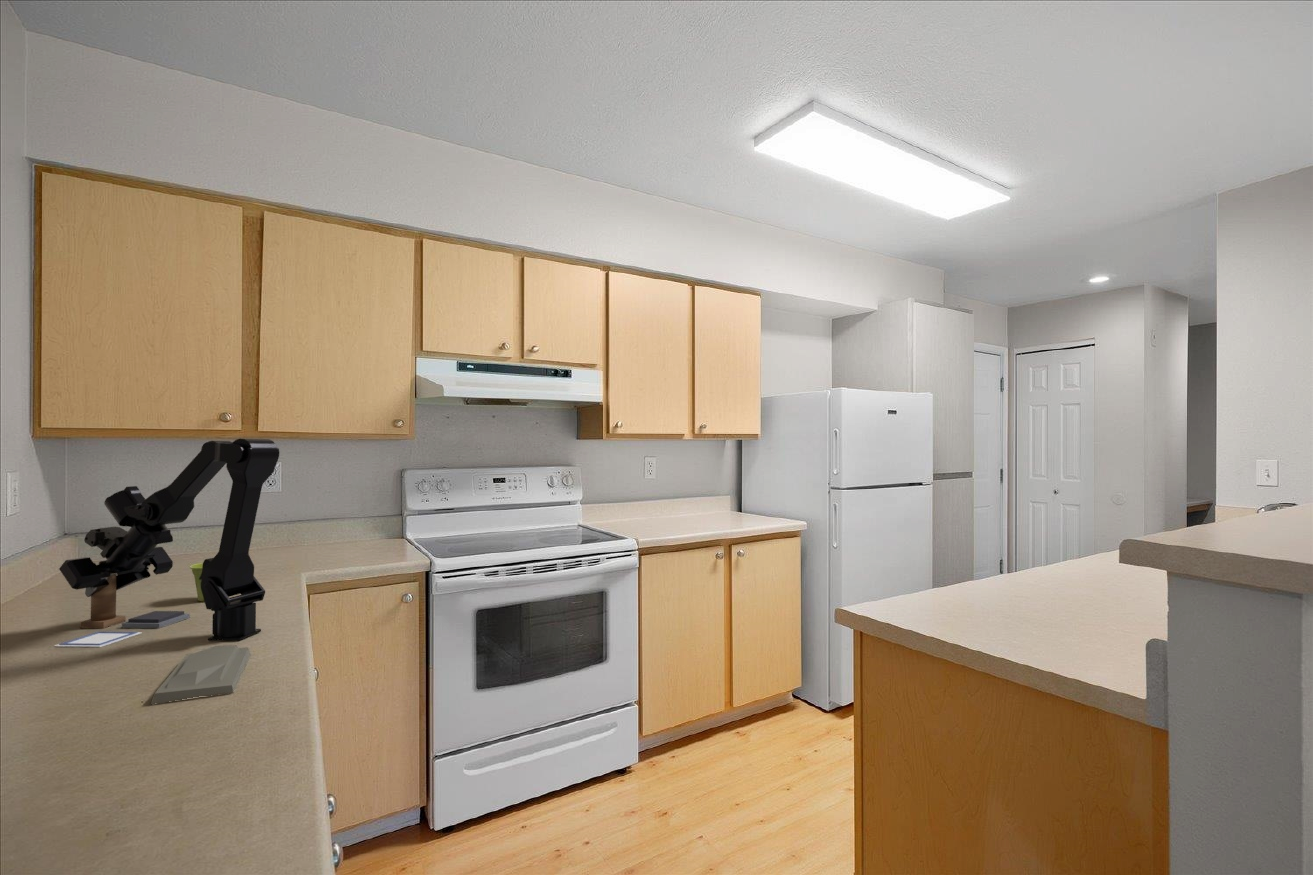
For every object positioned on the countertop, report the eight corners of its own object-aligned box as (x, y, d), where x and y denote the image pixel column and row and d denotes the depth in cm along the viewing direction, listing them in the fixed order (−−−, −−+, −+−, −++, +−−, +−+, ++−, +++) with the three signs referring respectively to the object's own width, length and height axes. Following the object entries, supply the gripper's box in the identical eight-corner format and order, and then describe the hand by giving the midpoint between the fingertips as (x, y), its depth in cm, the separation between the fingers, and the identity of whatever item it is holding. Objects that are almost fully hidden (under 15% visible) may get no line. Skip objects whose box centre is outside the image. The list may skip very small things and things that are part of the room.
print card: (141, 633, 125) (141, 631, 125) (99, 647, 116) (99, 645, 116) (99, 632, 125) (99, 630, 125) (53, 646, 116) (53, 644, 116)
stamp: (125, 621, 133) (126, 564, 133) (103, 628, 128) (104, 568, 128) (102, 621, 133) (103, 564, 134) (80, 628, 128) (81, 568, 129)
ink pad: (189, 617, 136) (189, 610, 136) (159, 628, 128) (159, 620, 128) (154, 617, 137) (154, 610, 137) (121, 627, 129) (122, 619, 129)
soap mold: (148, 709, 89) (149, 685, 89) (183, 666, 107) (183, 646, 107) (234, 697, 94) (234, 673, 94) (253, 657, 112) (253, 638, 112)
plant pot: (212, 604, 148) (212, 568, 148) (179, 602, 150) (180, 566, 150) (245, 595, 157) (245, 561, 157) (214, 593, 159) (214, 560, 159)
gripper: (164, 510, 139) (126, 557, 142) (67, 519, 121) (25, 573, 124) (190, 546, 137) (152, 594, 140) (96, 561, 119) (53, 615, 122)
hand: (98, 592), depth 131 cm, fingers closed on stamp, 4 cm apart
